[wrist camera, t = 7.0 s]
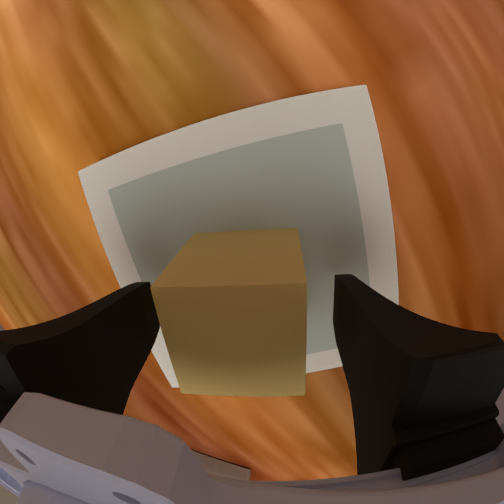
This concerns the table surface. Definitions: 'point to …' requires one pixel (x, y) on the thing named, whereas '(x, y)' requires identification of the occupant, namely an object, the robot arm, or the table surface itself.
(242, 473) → the supplement box
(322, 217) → the base
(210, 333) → the block
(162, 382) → the table surface
